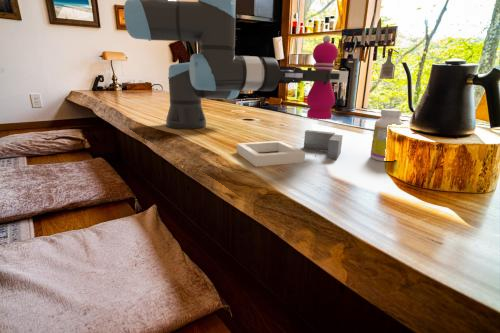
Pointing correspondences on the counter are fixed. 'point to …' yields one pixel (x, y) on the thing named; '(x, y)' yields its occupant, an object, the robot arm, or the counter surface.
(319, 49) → the pepper mill
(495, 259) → the counter surface
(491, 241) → the counter surface
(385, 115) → the supplement bottle
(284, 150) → the socket
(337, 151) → the corner bracket
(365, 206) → the counter surface
